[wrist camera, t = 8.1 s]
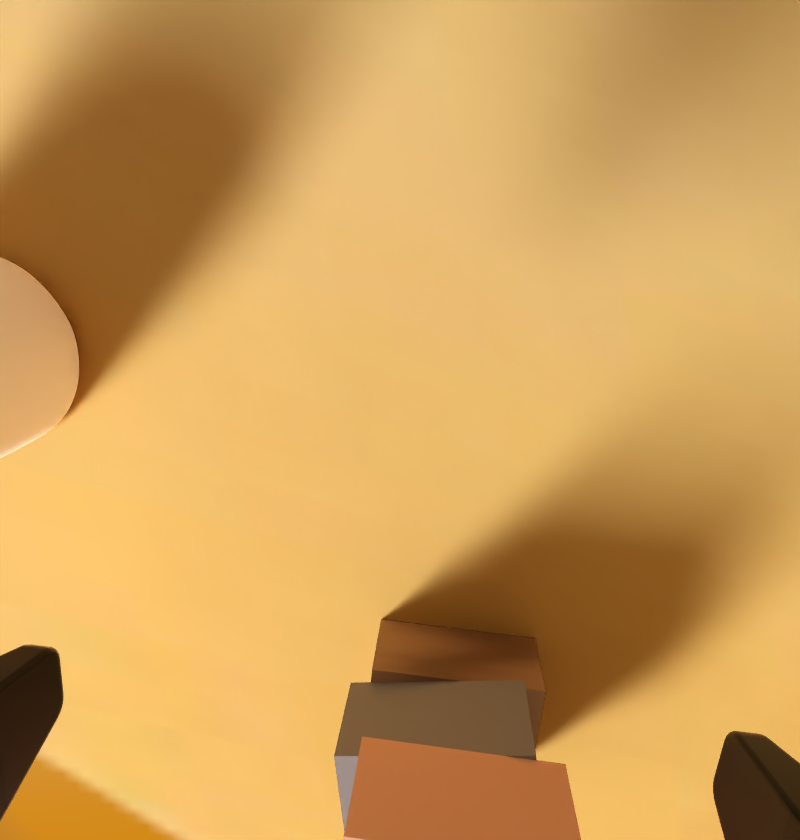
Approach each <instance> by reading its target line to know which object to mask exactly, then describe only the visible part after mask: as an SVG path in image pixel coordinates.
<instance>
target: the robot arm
mask: <svg viewBox="0 0 800 840" xmlns="http://www.w3.org/2000/svg"><path fill="white" fill-rule="evenodd" d="M62 704H63V686H62V676H61V666H60V657H59V653H58V652H57V650H56V649H54V648H52V647H46V646H38V645H24V646H21V647H19V648H17V649H14V650H12V651H10V652H8V653H6V654H3V655H1V656H0V821H1V819H2V817H3V815H4V814H5V812H6V810H7V809H8V807H9V805H10V803H11V801H12V800H13V798H14V796H15V794H16V792H17V791H18V789H19V787H20V785H21V783H22V781H23V779H24V778H25V776H26V774H27V772H28V771H29V769H30V767H31V765H32V763H33V762H34V760H35V758H36V756H37V754H38V752H39V751H40V749H41V747H42V745H43V743H44V742H45V740H46V738H47V736H48V734H49V733H50V731H51V729H52V727H53V725H54V723H55V722H56V720H57V718H58V716H59V714H60V711H61V708H62ZM713 794H714V800H715V804H716V808H717V812H718V816H719V819H720V823H721V827H722V831H723V834H724V838H725V840H800V763H799V762H797V761H796V760H795V759H794V758H792V757H791V756H790V755H789V754H787V753H786V752H785V751H784V750H782V749H781V748H780V747H779V746H777V745H776V744H775V743H774V742H772V741H771V740H770V739H769V738H767V737H766V736H764V735H761V734H756V733H748V732H740V731H733V732H730V733H729V734H728V735H727V736H726V738H725V741H724V744H723V748H722V751H721V755H720V759H719V762H718V766H717V769H716V773H715V777H714V782H713Z"/></svg>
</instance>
